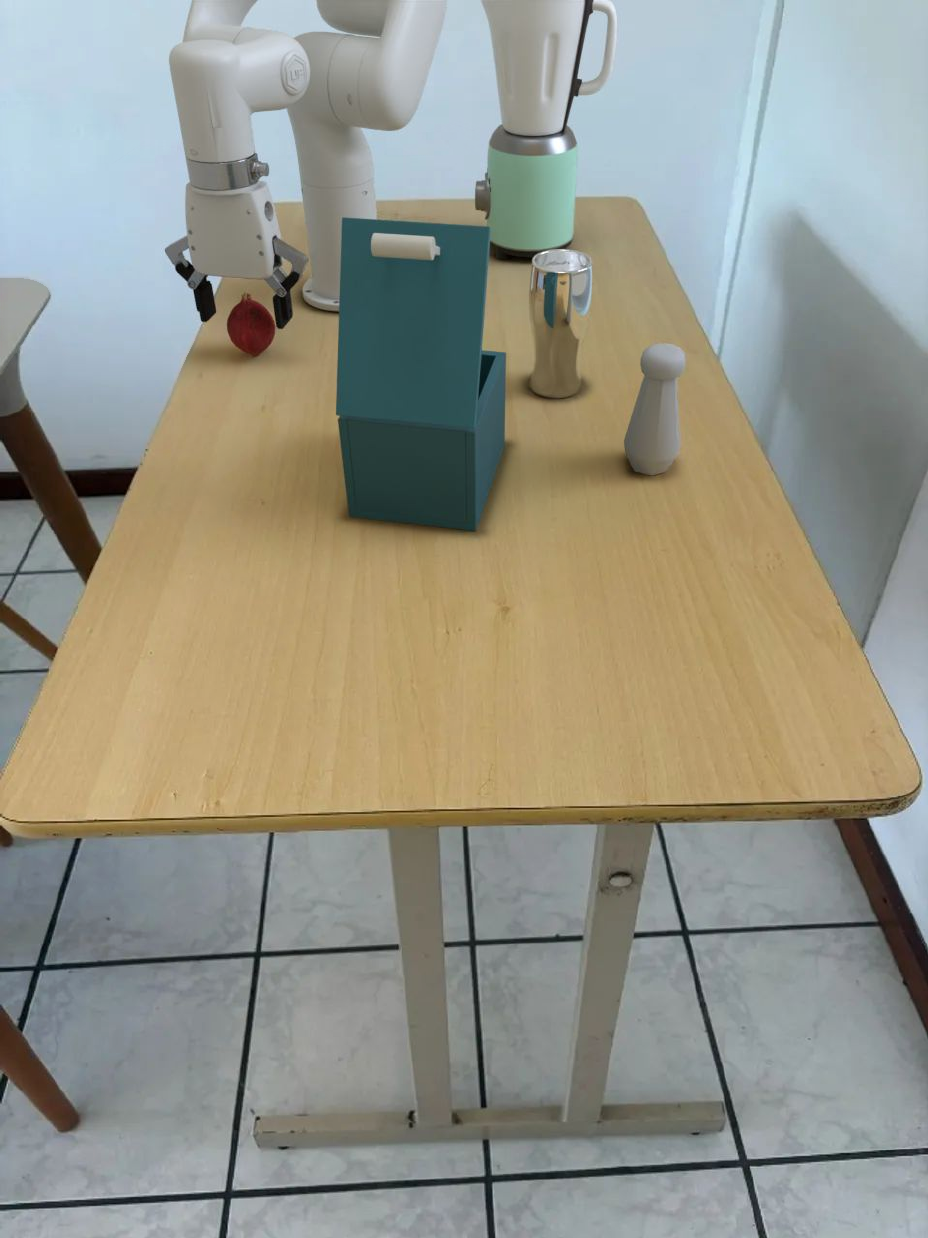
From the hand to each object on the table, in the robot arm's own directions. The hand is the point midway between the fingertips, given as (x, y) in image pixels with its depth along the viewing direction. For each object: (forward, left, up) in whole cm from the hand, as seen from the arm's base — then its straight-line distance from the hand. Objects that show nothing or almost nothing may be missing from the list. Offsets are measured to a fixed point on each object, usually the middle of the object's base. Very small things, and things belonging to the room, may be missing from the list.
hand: (246, 320), depth 117 cm
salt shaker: (+15, +50, -5) cm, 53 cm away
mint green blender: (-42, +29, -5) cm, 51 cm away
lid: (+26, +28, +14) cm, 41 cm away
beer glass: (0, +38, -5) cm, 38 cm away
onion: (-1, 0, -5) cm, 5 cm away
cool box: (+22, +28, -5) cm, 36 cm away
